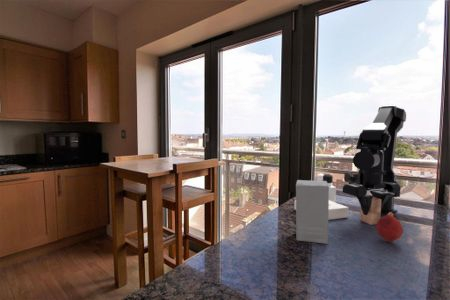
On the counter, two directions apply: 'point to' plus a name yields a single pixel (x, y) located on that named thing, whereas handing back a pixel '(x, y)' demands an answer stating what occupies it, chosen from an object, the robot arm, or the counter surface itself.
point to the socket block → (334, 210)
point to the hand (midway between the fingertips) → (370, 214)
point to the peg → (372, 212)
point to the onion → (389, 228)
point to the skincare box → (312, 211)
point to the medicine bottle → (329, 181)
